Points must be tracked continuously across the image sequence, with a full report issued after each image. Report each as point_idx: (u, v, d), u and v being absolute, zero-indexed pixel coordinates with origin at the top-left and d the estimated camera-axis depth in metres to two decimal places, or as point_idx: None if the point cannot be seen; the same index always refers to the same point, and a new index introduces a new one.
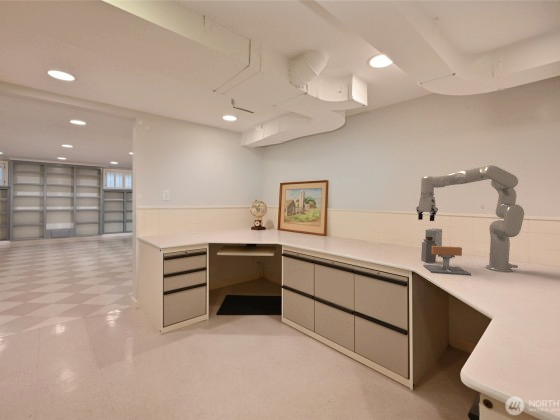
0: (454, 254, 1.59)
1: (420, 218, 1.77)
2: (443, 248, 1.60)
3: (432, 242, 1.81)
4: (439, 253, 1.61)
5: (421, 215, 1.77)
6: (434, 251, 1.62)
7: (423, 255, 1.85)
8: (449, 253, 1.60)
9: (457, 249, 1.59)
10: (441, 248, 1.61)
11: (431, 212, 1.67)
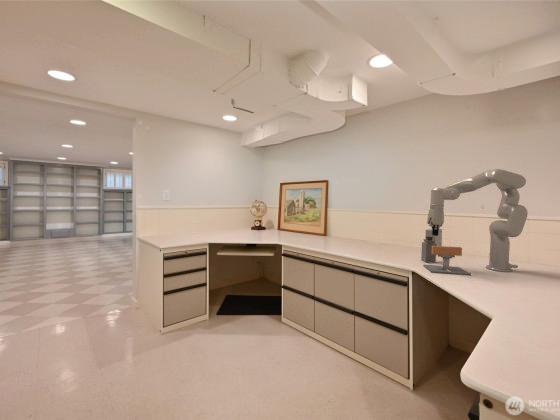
0: (454, 254, 1.59)
1: None
2: (443, 248, 1.60)
3: (432, 242, 1.81)
4: (439, 253, 1.61)
5: None
6: (434, 251, 1.62)
7: (423, 255, 1.85)
8: (449, 253, 1.60)
9: (457, 249, 1.59)
10: (441, 248, 1.61)
11: (439, 227, 1.67)
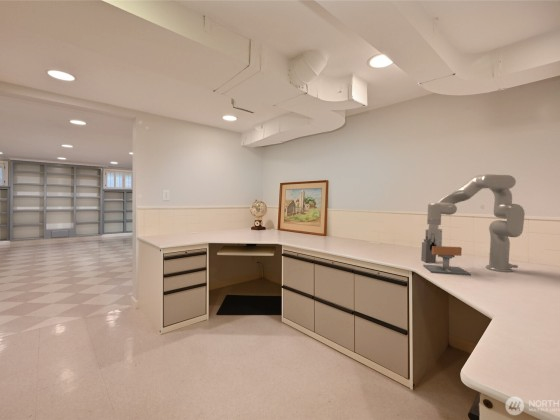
0: (454, 254, 1.59)
1: None
2: (443, 248, 1.60)
3: None
4: (439, 253, 1.61)
5: None
6: (435, 251, 1.61)
7: (423, 255, 1.85)
8: (449, 253, 1.60)
9: (457, 249, 1.59)
10: (441, 248, 1.60)
11: None
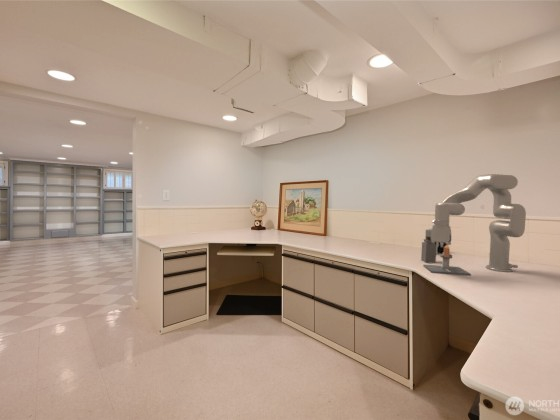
0: None
1: None
2: None
3: None
4: (448, 255, 1.57)
5: None
6: (449, 254, 1.54)
7: (423, 255, 1.85)
8: None
9: None
10: None
11: None
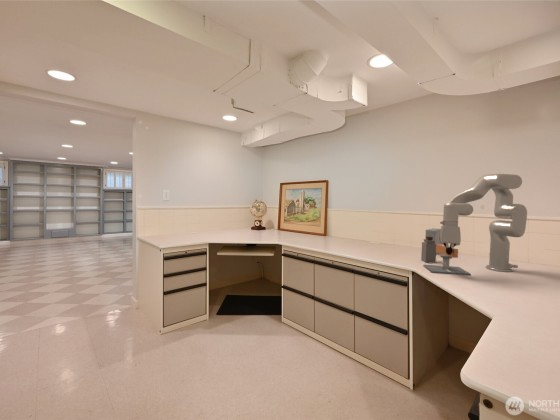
0: None
1: None
2: None
3: (432, 242, 1.81)
4: None
5: None
6: None
7: (423, 255, 1.85)
8: None
9: None
10: None
11: None
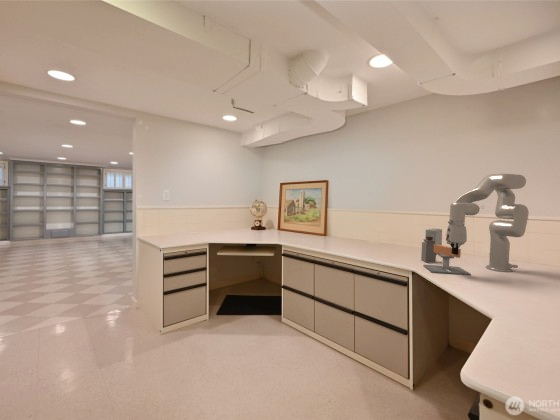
0: None
1: None
2: None
3: (432, 242, 1.81)
4: None
5: None
6: None
7: (423, 255, 1.85)
8: None
9: None
10: None
11: (450, 244, 1.54)
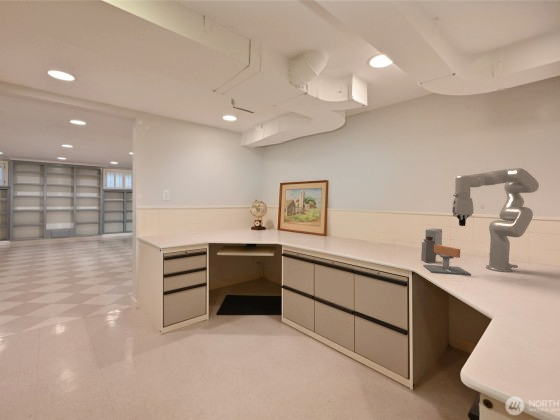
0: None
1: None
2: None
3: (432, 242, 1.81)
4: None
5: None
6: None
7: (423, 255, 1.85)
8: None
9: None
10: None
11: None
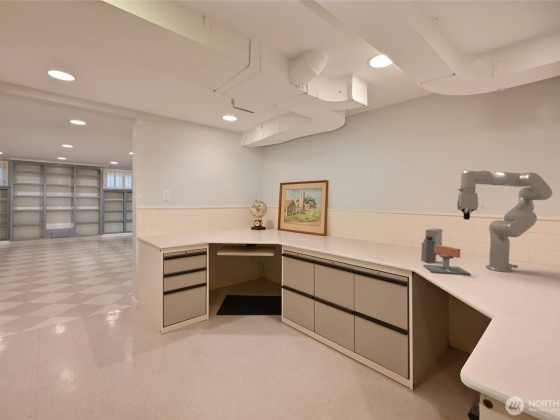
0: None
1: None
2: None
3: (432, 242, 1.81)
4: None
5: None
6: None
7: (423, 255, 1.85)
8: None
9: None
10: None
11: None
